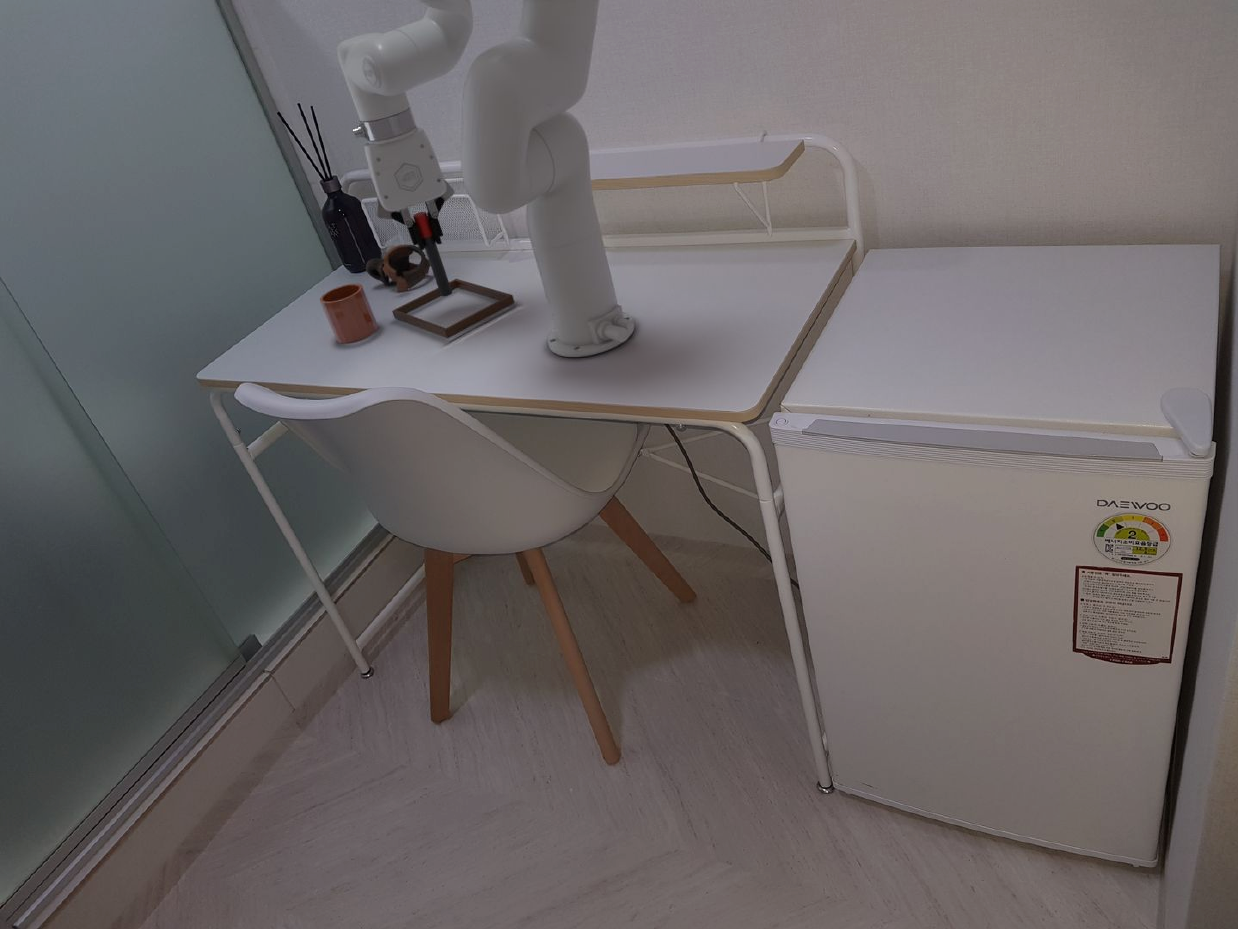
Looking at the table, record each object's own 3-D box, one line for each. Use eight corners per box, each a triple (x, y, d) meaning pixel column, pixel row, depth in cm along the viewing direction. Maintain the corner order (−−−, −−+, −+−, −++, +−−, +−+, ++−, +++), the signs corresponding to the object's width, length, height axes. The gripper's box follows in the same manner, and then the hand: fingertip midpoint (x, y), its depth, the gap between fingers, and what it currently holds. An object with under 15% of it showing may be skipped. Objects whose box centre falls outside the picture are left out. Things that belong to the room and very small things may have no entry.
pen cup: (387, 332, 151) (369, 287, 147) (350, 350, 148) (331, 305, 144) (368, 324, 156) (350, 280, 152) (331, 342, 153) (312, 298, 149)
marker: (455, 292, 149) (428, 212, 142) (444, 297, 148) (417, 217, 141) (448, 290, 151) (421, 210, 143) (438, 295, 150) (410, 215, 142)
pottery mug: (437, 270, 173) (432, 239, 165) (433, 310, 168) (427, 279, 161) (372, 268, 172) (364, 237, 165) (366, 308, 167) (357, 277, 160)
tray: (516, 306, 148) (512, 294, 147) (449, 342, 142) (444, 330, 141) (460, 289, 160) (456, 278, 159) (396, 322, 154) (391, 310, 153)
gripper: (339, 147, 130) (384, 268, 140) (446, 114, 133) (483, 234, 143) (333, 138, 136) (377, 254, 146) (436, 106, 139) (472, 223, 149)
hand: (429, 243), depth 145 cm, fingers closed on marker, 2 cm apart
